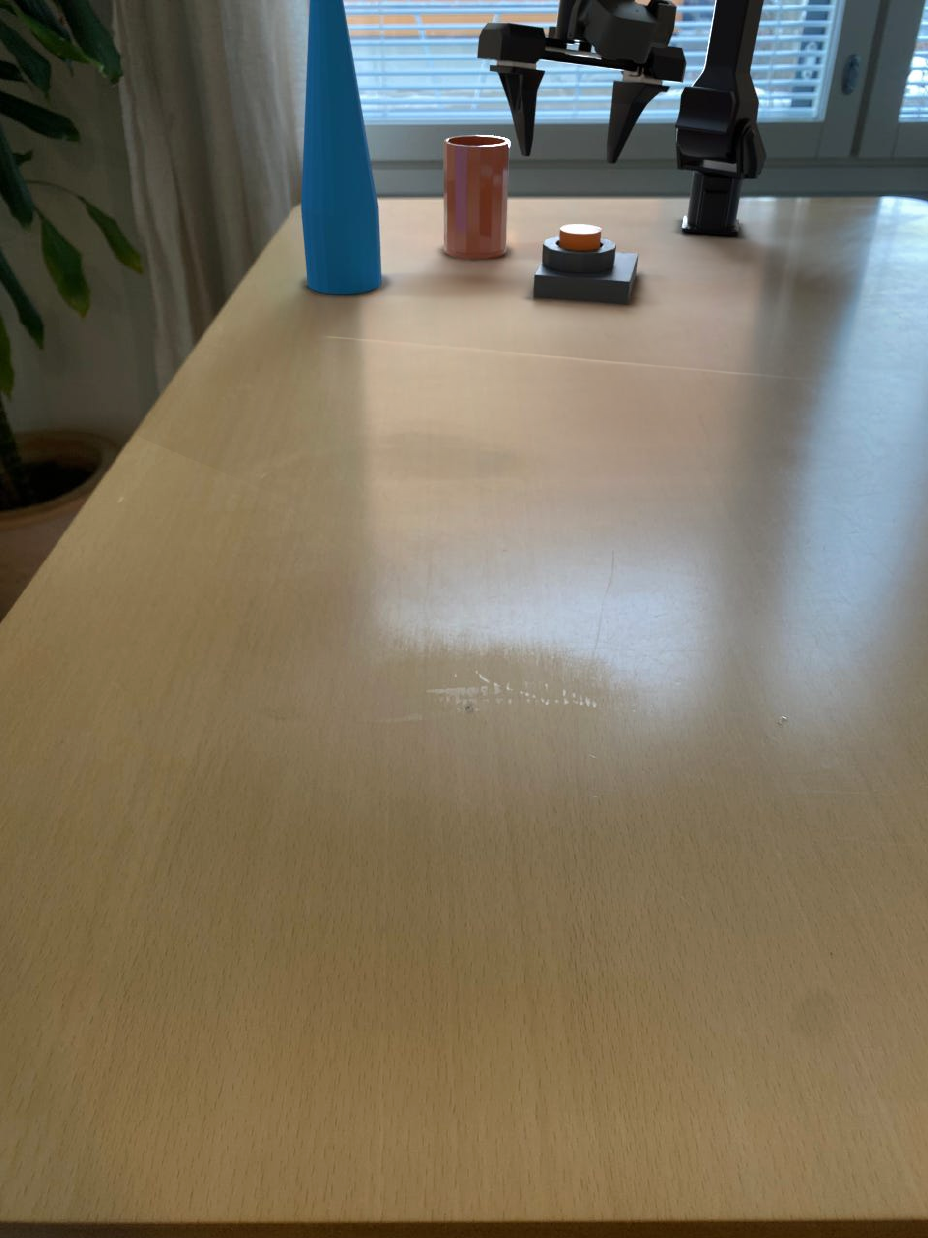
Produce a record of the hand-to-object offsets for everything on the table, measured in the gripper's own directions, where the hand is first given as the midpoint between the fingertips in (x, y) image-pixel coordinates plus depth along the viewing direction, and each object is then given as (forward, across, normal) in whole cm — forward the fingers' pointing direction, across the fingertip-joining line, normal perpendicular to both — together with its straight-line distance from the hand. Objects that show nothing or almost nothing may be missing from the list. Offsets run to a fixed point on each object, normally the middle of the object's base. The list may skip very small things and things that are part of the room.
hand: (569, 159), depth 89 cm
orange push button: (+7, +1, -2) cm, 8 cm away
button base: (+11, +2, -3) cm, 12 cm away
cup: (+11, -3, +13) cm, 17 cm away
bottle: (+13, -20, +7) cm, 25 cm away
